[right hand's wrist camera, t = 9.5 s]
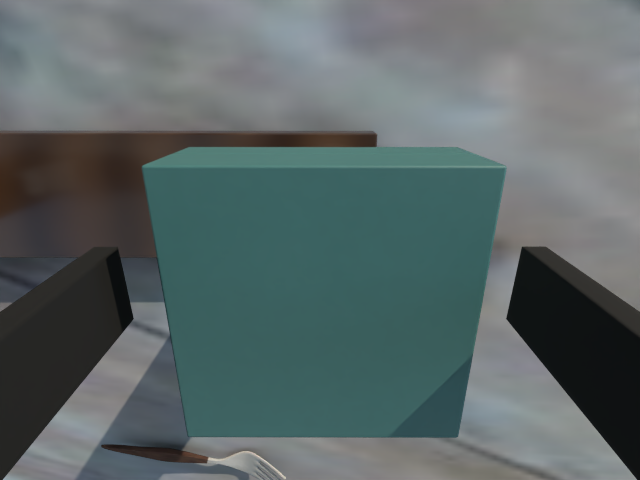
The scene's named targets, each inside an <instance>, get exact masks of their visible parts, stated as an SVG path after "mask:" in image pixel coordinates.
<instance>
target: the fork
mask: <svg viewBox="0 0 640 480" xmlns="http://www.w3.org/2000/svg"><path fill="white" fill-rule="evenodd" d="M101 447H102V448H105V449H108V450H112V451H116V452H121V453H126V454H131V455H136V456H141V457H146V458H150V459H155V460H160V461H167V462H184V463H213V464H221V465H225V466H229V467H232V468H235V469H238V470H240V471H243V472H246V473H248V474H250V475H252V476H254V477H256V478H258V479H259V480H265V479H264V478H262V477H261V476H260V475H259V474H258V473H260V474H261V475H263V476H264V477H266V478H267V479H268V480H273V479H272V478H270V477H269V476H268V475H267V474H265V473H264V472H263V471H262V470H260V469H259V468H258V467H260V468H262V469H263V470H265V471H266V472H267V473H269V474H270V475H271V476H273V477H274V478H275V479H277V480H280V479H279V478H278V477H277V476H276V475H275V474H273V473H272V472H271V471H270V470H269V469H267V468H266V467H265V466H263V465H262V464H261V463H260V462H262V463H264V464H265V465H267V466H268V467H270V468H271V469H272V470H274V471H275V472H276V473H278V474H279V475H280V476H281V477H282V478H283V479H285V478H286V477H285V476H284V475H283V474H281V473H280V472H279V471H278V470H277V469H276V468H274V467H273V466H272V465H271V464H269V463H268V462H267V461H265V460H264V459H263V458H261V457H260V456H258V455H257V454H255V453H253V452H250V451H242V452H238V453H236V454H233V455H231V456H229V457H226V458H223V459H215V458H210V457H206V456H202V455H197V454H193V453H189V452H185V451H181V450H176V449H170V448H159V447H138V446H127V445H101ZM259 461H260V462H259Z"/></svg>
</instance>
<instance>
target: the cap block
mask: <svg viewBox="0 0 640 480" xmlns="http://www.w3.org/2000/svg"><path fill="white" fill-rule="evenodd" d="M142 174H143V180H144V185H145V191H146V197H147V203H148V209H149V214H150V220H151V226H152V232H153V238H154V244H155V249H156V255H157V261H158V267H159V273H160V278H161V284H162V290H163V296H164V302H165V307H166V313H167V319H168V325H169V331H170V337H171V342H172V348H173V354H174V360H175V366H176V371H177V377H178V383H179V389H180V395H181V400H182V406H183V412H184V418H185V424H186V430H187V435H188V437H446V438H456V437H458V434H459V428H460V423H461V417H462V412H463V406H464V401H465V395H466V390H467V384H468V378H469V373H470V367H471V362H472V356H473V351H474V345H475V340H476V334H477V329H478V323H479V318H480V312H481V307H482V301H483V296H484V290H485V285H486V279H487V273H488V268H489V262H490V257H491V251H492V246H493V240H494V235H495V229H496V224H497V218H498V213H499V207H500V202H501V196H502V191H503V185H504V179H505V174H506V166H505V165H502V164H500V163H497V162H494V161H492V160H489V159H487V158H484V157H481V156H479V155H476V154H473V153H471V152H468V151H466V150H463V149H460V148H458V147H188V148H185V149H183V150H180V151H178V152H175V153H173V154H170V155H168V156H165V157H163V158H160V159H158V160H155V161H152V162H150V163H147V164H145V165H143V166H142Z"/></svg>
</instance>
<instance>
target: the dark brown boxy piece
mask: <svg viewBox="0 0 640 480" xmlns="http://www.w3.org/2000/svg"><path fill="white" fill-rule="evenodd" d="M188 147H377V134H376V133H375V132H373V131H0V257H80V256H82V255H83V254H85V253H86V252H88V251H89V250H90V249H92V248H93V247H118V249H119V254H120V258H157V255H156V249H155V244H154V238H153V232H152V226H151V220H150V214H149V209H148V203H147V197H146V191H145V185H144V180H143V174H142V166H143V165H145V164H147V163H150V162H152V161H155V160H158V159H160V158H163V157H165V156H168V155H170V154H173V153H175V152H178V151H180V150H183V149H185V148H188Z"/></svg>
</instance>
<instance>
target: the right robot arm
mask: <svg viewBox="0 0 640 480" xmlns="http://www.w3.org/2000/svg"><path fill="white" fill-rule="evenodd" d="M133 319H134V318H133V314H132V309H131V305H130V300H129V295H128V291H127V286H126V282H125V277H124V272H123V268H122V263H121V259H120V254H119V249H118V247H93V248H92V249H90V250H89V251H88V252H86V253H85V254H83V255H82V256H80V257H79V258H77V259H76V260H75V261H73V262H72V263H70V264H69V265H67V266H66V267H64V268H63V269H62V270H60V271H59V272H57V273H56V274H54V275H53V276H51V277H50V278H49V279H47V280H46V281H44V282H43V283H41V284H40V285H38V286H37V287H36V288H34V289H33V290H31V291H30V292H28V293H27V294H25V295H24V296H23V297H21V298H20V299H18V300H17V301H15V302H14V303H13V304H11V305H10V306H8V307H7V308H5V309H4V310H2V311H1V312H0V480H3V479H4V477H5V476H6V475H7V474H8V472H9V471H10V470H11V469H12V468H13V466H14V465H15V464H16V463H17V461H18V460H19V459H20V458H21V456H22V455H23V454H24V453H25V452H26V450H27V449H28V448H29V447H30V445H31V444H32V443H33V442H34V441H35V439H36V438H37V437H38V436H39V434H40V433H41V432H42V431H43V430H44V428H45V427H46V426H47V425H48V423H49V422H50V421H51V420H52V418H53V417H54V416H55V415H56V414H57V412H58V411H59V410H60V409H61V407H62V406H63V405H64V404H65V403H66V401H67V400H68V399H69V398H70V396H71V395H72V394H73V393H74V391H75V390H76V389H77V388H78V387H79V385H80V384H81V383H82V382H83V380H84V379H85V378H86V377H87V376H88V374H89V373H90V372H91V371H92V369H93V368H94V367H95V366H96V364H97V363H98V362H99V361H100V360H101V358H102V357H103V356H104V355H105V353H106V352H107V351H108V350H109V349H110V347H111V346H112V345H113V344H114V342H115V341H116V340H117V339H118V337H119V336H120V335H121V334H122V333H123V331H124V330H125V329H126V328H127V326H128V325H129V324H130V323H131V322H132V320H133ZM506 319H507V320H508V322H509V323H510V324H511V325H512V326H513V328H514V329H515V330H516V331H517V333H518V334H519V335H520V336H521V337H522V339H523V340H524V341H525V342H526V344H527V345H528V346H529V347H530V349H531V350H532V351H533V352H534V353H535V355H536V356H537V357H538V358H539V360H540V361H541V362H542V363H543V364H544V366H545V367H546V368H547V369H548V371H549V372H550V373H551V374H552V376H553V377H554V378H555V379H556V380H557V382H558V383H559V384H560V385H561V387H562V388H563V389H564V390H565V391H566V393H567V394H568V395H569V396H570V398H571V399H572V400H573V401H574V403H575V404H576V405H577V406H578V407H579V409H580V410H581V411H582V412H583V414H584V415H585V416H586V417H587V418H588V420H589V421H590V422H591V423H592V425H593V426H594V427H595V428H596V430H597V431H598V432H599V433H600V434H601V436H602V437H603V438H604V439H605V441H606V442H607V443H608V444H609V445H610V447H611V448H612V449H613V450H614V452H615V453H616V454H617V455H618V457H619V458H620V459H621V460H622V461H623V463H624V464H625V465H626V466H627V468H628V469H629V470H630V471H631V472H632V474H633V475H634V476H635V477H636V479H637V480H640V312H639V311H638V310H636V309H635V308H633V307H632V306H630V305H629V304H627V303H626V302H625V301H623V300H622V299H620V298H619V297H617V296H616V295H615V294H613V293H612V292H610V291H609V290H607V289H606V288H604V287H603V286H602V285H600V284H599V283H597V282H596V281H594V280H593V279H591V278H590V277H589V276H587V275H586V274H584V273H583V272H581V271H580V270H578V269H577V268H576V267H574V266H573V265H571V264H570V263H568V262H567V261H565V260H564V259H563V258H561V257H560V256H558V255H557V254H555V253H554V252H552V251H551V250H550V249H548V248H547V247H522V249H521V254H520V259H519V263H518V268H517V272H516V277H515V282H514V286H513V291H512V295H511V300H510V305H509V309H508V314H507V318H506Z"/></svg>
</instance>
